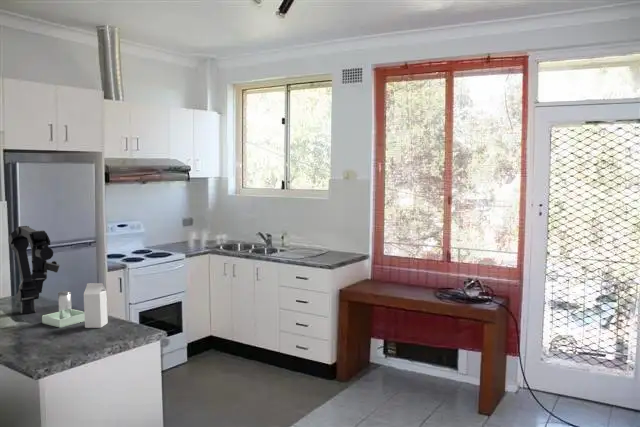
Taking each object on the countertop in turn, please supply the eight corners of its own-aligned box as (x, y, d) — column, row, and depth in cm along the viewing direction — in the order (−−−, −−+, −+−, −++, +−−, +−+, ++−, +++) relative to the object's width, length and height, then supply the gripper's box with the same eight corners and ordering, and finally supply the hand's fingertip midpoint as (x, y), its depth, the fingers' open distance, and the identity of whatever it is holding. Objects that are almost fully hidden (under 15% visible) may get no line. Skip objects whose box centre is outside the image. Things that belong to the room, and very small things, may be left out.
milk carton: (101, 328, 234) (99, 285, 233) (84, 328, 234) (83, 285, 233) (107, 323, 241) (106, 281, 240) (92, 323, 241) (90, 281, 240)
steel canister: (57, 320, 245) (56, 292, 244) (69, 318, 249) (67, 290, 248) (62, 322, 241) (60, 294, 240) (74, 320, 245) (72, 292, 244)
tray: (42, 323, 243) (42, 315, 243) (71, 316, 254) (71, 308, 254) (59, 327, 235) (59, 319, 235) (89, 320, 247) (88, 312, 247)
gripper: (58, 259, 244) (59, 292, 245) (57, 253, 261) (59, 285, 262) (30, 261, 239) (32, 295, 240) (31, 255, 256) (33, 288, 257)
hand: (40, 291), depth 250 cm, fingers open, 9 cm apart
